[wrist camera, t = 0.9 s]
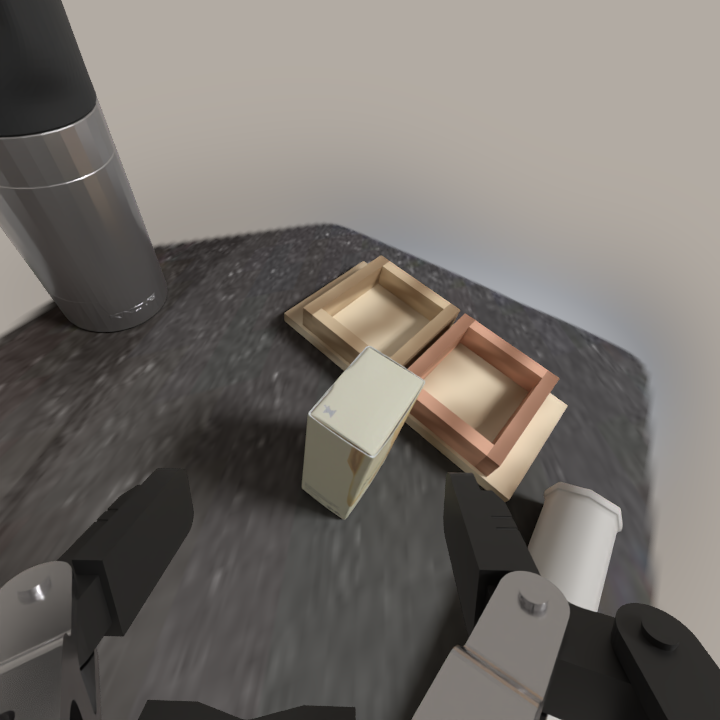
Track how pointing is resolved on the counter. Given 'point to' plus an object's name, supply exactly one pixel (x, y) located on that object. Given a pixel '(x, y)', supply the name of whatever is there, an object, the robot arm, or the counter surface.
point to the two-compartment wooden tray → (440, 369)
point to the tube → (575, 543)
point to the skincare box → (356, 429)
